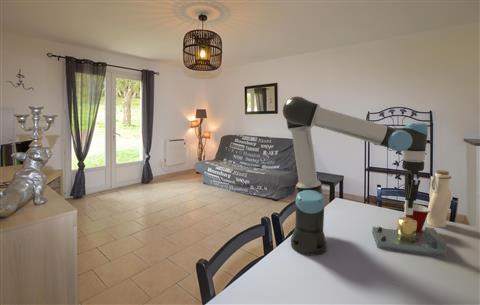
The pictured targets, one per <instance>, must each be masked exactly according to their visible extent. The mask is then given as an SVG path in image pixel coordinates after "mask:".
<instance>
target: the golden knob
mask: <svg viewBox="0 0 480 305" xmlns="http://www.w3.org/2000/svg"><path fill="white" fill-rule="evenodd" d="M416 228H417V221H416V220H414V219H411V218H407V217H406V216H405V217H404V216H402V217H401V216H399V217H398V219H397V228H396V230H397V237H398V238H399V239H400V240H404V241H410V242H412V241H415V237H416Z"/></svg>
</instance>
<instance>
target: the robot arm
mask: <svg viewBox="0 0 480 305" xmlns="http://www.w3.org/2000/svg"><path fill="white" fill-rule="evenodd" d="M282 115H283V117H284V119H285V120H286V125H287V130H288V131H290V133H291V137H292V144H293V152H294V157H295V158H294V159H295V164H296V170H297V171H296V172H297V177H298V178H297V180H298V181H297V183H296V185H295V187H296V193H297V194H296V196H295V223H294V224H295V226H294V229H293V232H292V235H291V237H290V246H291V248H292V249H293V250H294V251H295V252H298V253H300V254H302V255H303V254H304V255H308V256H319V255H322V254H324V253H325V252H326V251H327V249H328V242H327V238H326V236H325V232H324V225H325V224H324V221H325V220H324V219H325V206H326V201H325V200H326V199H325V195H324V193H323V186H322V182H321V181H320V180H319V179H318V175H317V167H316V159H315V153H314V145H313V138H312V131H311V129H312V127H318V128H320V129H324V130H328V131H331V132H335V133H338V134H341V135H344V136H347V137H351V138H355V139H358V140H362V141H364V142H368V143H371V144H373V145H374V146H380V147H383V148H384V147H385V148H387V149H391V150H392V151H396V152H403V153H402V159H403V160H402V165H401V168H402V169H403V170H405V171H406V172H404V174H403V175H404V196H405V198H404V200H405V202H404V204H405V207H404V214H405V216H406V215H413V206H414V204H415V201H417V199H418V198H417V197H418V193H419V188H420V184H421V180H420V175H419V172H423V171H424V170H425V162H424V161H425V160H426V155H427V154H428V153H427V152H426V151H427V150H426V149H427V141H428V136H429V135H428V131H429V130H428V128H429V127H428V126H429V125H428V124H427V123H425V122H407V123H406V124H405V127H390V126H387V125H383V124H380V123H378V122H377V123H376V122H374V121H373V122H372V121H370V120H366V119H364V118H363V119H362V118H358V117H356V116H352V115H349V114H345V113H342V112H337V111H334V110H330V109H327V108H323V107H321V106H320V104H319V103H316V102H312V101H310V100H308V99H306V98H304V97H302V96H299V95H298V96H293V97H290V98H289V99H287V100H286V101H285V103H284V104H283V106H282Z"/></svg>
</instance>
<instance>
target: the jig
mask: <svg viewBox="0 0 480 305" xmlns="http://www.w3.org/2000/svg"><path fill="white" fill-rule="evenodd" d="M371 231H372V235H373V239H374V243H375V245H376V248H379V249H386V250H391V251H399V252H406V253H413V254H419V255H420V254H421V255H425V256H427V255H428V256H434V257H439V258H440V257H441V258H446V253H447V242H446V241H445V240H444V238H443V237H442V236H441V234H439V233H438V232H437V231H436V230H435V229H434V227H427V226H425V227H424V233H423V232H416V237H415V241H412V242H410V241H404V240H400V239H399V238H398V237H397V229H393V228H384V227H382V226H377V227H375V226H372V230H371Z"/></svg>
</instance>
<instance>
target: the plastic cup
mask: <svg viewBox="0 0 480 305" xmlns="http://www.w3.org/2000/svg"><path fill="white" fill-rule="evenodd" d="M403 208H405V203H404V204H403ZM429 212H430V209H429V208H428V207H426V206H424V205H421V204H415V203H414V206H413V215H406V214H405V217H407V218H411V219H414V220H416V221H417V228H416V232H417V233H422V230H423V227H424V225H425V222H426V221H427V215H428V213H429Z"/></svg>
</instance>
